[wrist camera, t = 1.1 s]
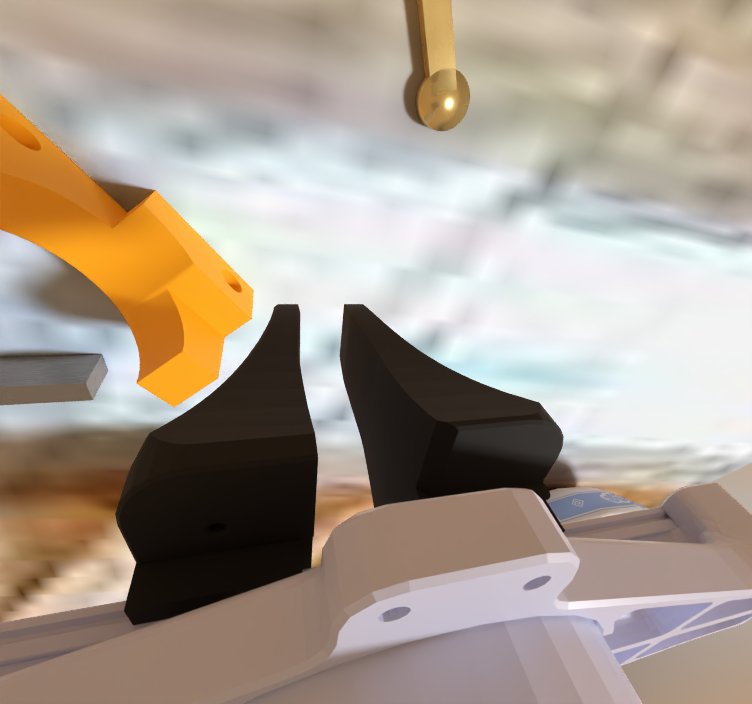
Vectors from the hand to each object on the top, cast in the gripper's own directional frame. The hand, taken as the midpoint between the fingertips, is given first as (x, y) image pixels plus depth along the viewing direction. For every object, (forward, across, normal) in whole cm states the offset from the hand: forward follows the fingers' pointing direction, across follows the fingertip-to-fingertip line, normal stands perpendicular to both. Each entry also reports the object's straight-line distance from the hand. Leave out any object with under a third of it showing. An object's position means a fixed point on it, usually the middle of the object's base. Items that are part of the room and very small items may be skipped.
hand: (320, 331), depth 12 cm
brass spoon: (+10, -6, -9) cm, 15 cm away
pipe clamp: (+10, +8, 0) cm, 13 cm away
